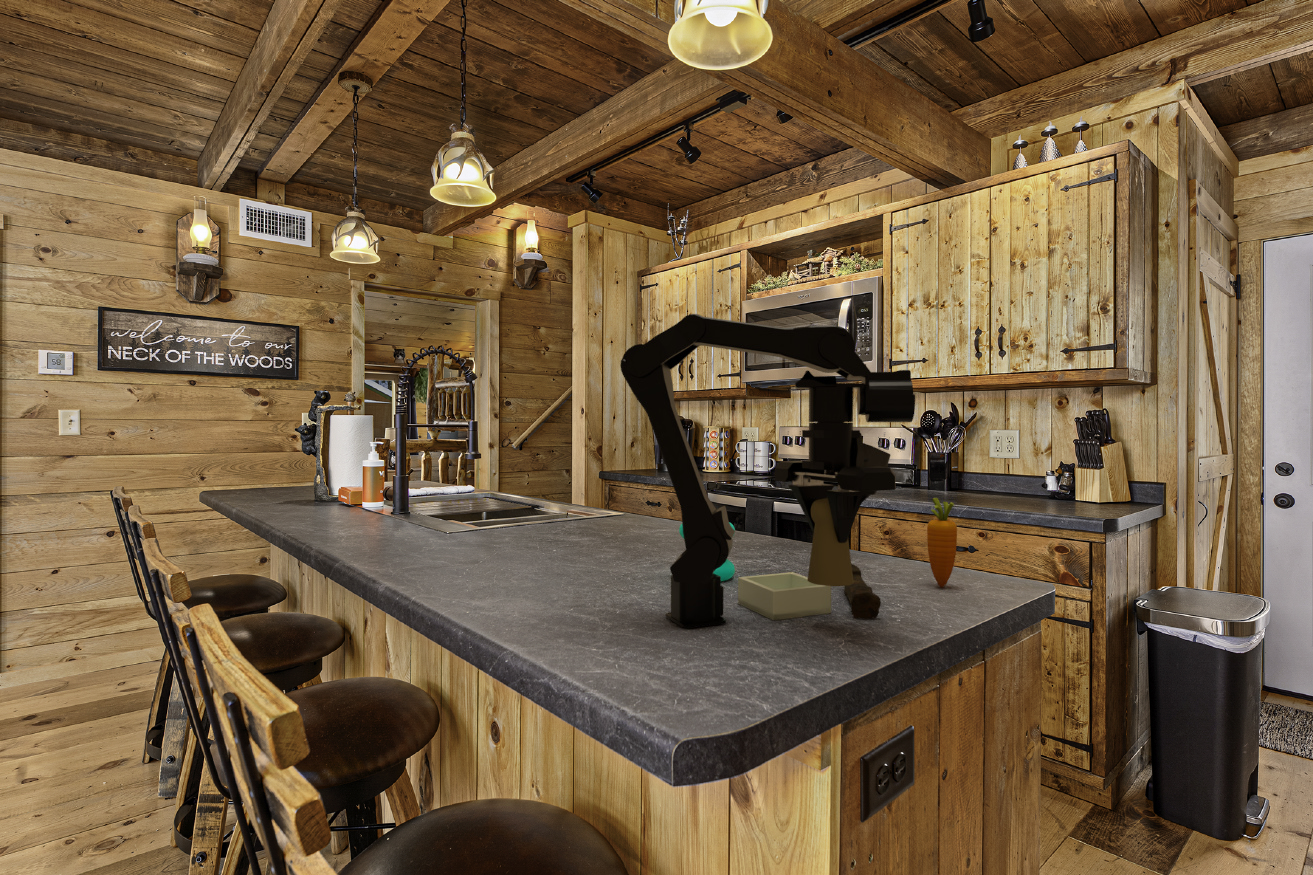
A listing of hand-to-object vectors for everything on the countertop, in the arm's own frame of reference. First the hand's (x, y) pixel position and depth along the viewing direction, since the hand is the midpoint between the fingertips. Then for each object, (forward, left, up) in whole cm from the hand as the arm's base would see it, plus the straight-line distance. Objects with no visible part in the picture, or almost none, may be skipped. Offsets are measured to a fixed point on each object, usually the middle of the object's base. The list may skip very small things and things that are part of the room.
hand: (830, 539), depth 91 cm
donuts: (-1, +34, -12) cm, 36 cm away
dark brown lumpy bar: (+12, +10, -12) cm, 20 cm away
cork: (0, 0, -6) cm, 6 cm away
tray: (0, +11, -12) cm, 16 cm away
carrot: (+32, +12, -12) cm, 36 cm away
